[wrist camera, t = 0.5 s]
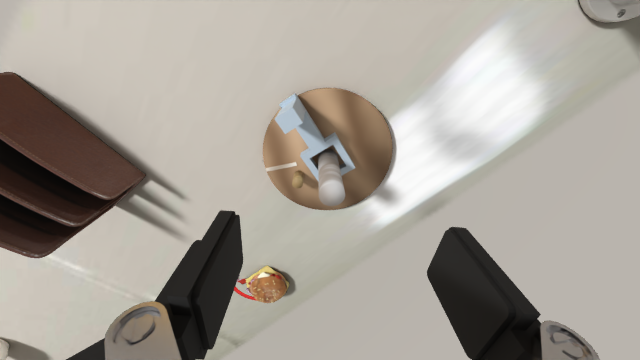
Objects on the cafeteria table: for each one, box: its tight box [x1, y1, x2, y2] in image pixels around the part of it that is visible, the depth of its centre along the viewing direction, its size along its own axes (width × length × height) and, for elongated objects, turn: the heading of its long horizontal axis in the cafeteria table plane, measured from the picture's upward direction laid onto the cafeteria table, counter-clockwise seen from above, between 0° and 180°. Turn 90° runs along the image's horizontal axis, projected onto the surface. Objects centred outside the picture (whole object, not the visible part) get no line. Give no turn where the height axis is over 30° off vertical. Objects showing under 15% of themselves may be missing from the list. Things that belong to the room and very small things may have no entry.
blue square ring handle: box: [275, 93, 355, 182], centre depth 31 cm, size 14×6×8 cm, turn 32°
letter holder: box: [0, 72, 146, 258], centre depth 30 cm, size 10×20×14 cm, turn 38°
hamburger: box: [234, 266, 289, 303], centre depth 49 cm, size 14×14×6 cm
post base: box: [263, 88, 392, 210], centre depth 31 cm, size 20×20×12 cm
